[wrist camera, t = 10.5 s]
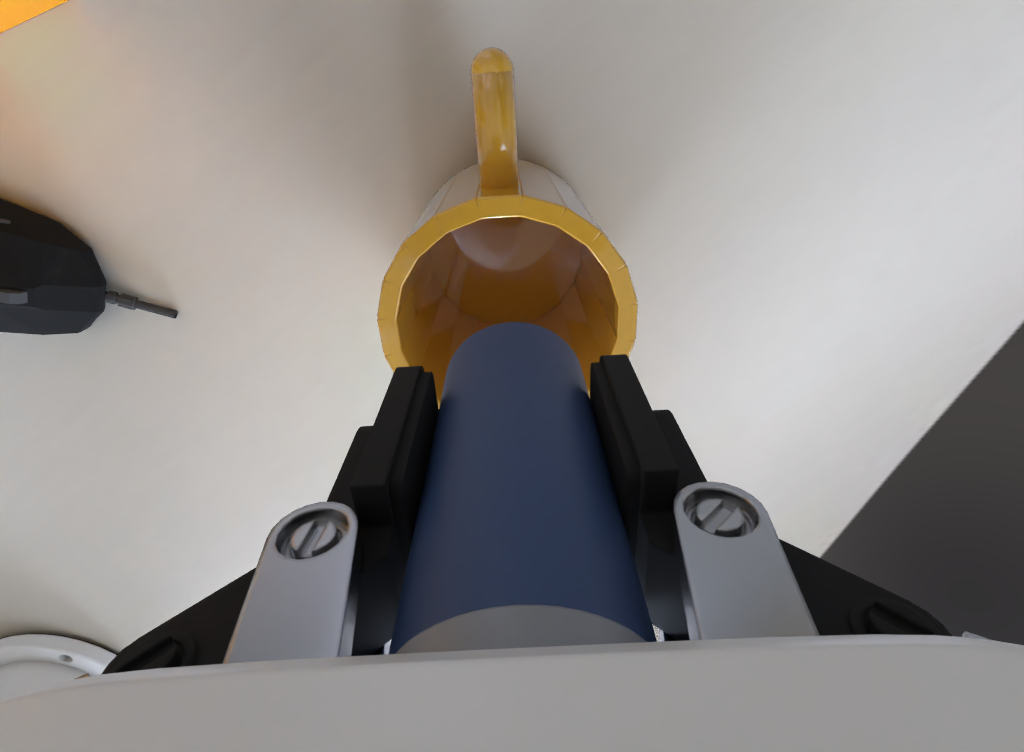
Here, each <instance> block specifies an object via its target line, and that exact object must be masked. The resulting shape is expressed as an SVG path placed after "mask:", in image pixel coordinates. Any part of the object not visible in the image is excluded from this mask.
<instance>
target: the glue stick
mask: <svg viewBox="0 0 1024 752" xmlns="http://www.w3.org/2000/svg"><path fill="white" fill-rule="evenodd" d="M639 642H657V641H656V637H655V633H654V630H653V626H652V623H651V619H650V615H649V612H648V608H647V604H646V601H645V597H644V593H643V590H642V586H641V583H640V579H639V575H638V572H637V568H636V564H635V561H634V557H633V554H632V550H631V546H630V543H629V539H628V535H627V532H626V528H625V525H624V522H623V518H622V514H621V511H620V507H619V504H618V500H617V496H616V493H615V489H614V485H613V482H612V478H611V474H610V471H609V467H608V463H607V460H606V456H605V453H604V449H603V445H602V442H601V438H600V434H599V431H598V427H597V423H596V420H595V416H594V412H593V409H592V405H591V402H590V398H589V394H588V390H587V387H586V383H585V379H584V376H583V372H582V369H581V365H580V363H579V360H578V358H577V356H576V354H575V353H574V351H573V350H572V348H571V347H570V346H569V345H568V344H567V343H566V342H565V341H564V340H563V339H562V338H561V337H559V336H558V335H557V334H555V333H554V332H552V331H550V330H548V329H546V328H543V327H541V326H538V325H534V324H530V323H523V322H507V323H500V324H496V325H492V326H489V327H486V328H484V329H482V330H480V331H478V332H476V333H474V334H473V335H471V336H470V337H469V338H467V339H466V340H465V341H464V342H463V343H462V344H461V345H460V346H459V348H458V349H457V350H456V351H455V353H454V355H453V356H452V358H451V360H450V363H449V365H448V369H447V373H446V377H445V382H444V387H443V392H442V397H441V402H440V407H439V412H438V416H437V421H436V426H435V431H434V436H433V441H432V446H431V450H430V455H429V460H428V465H427V470H426V475H425V480H424V484H423V489H422V494H421V499H420V504H419V509H418V514H417V518H416V523H415V528H414V533H413V538H412V543H411V548H410V552H409V557H408V562H407V567H406V572H405V577H404V582H403V586H402V591H401V596H400V601H399V606H398V611H397V616H396V621H395V625H394V630H393V635H392V640H391V645H390V650H389V654H405V653H424V652H445V651H466V650H486V649H507V648H528V647H550V646H571V645H593V644H615V643H639Z"/></svg>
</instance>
